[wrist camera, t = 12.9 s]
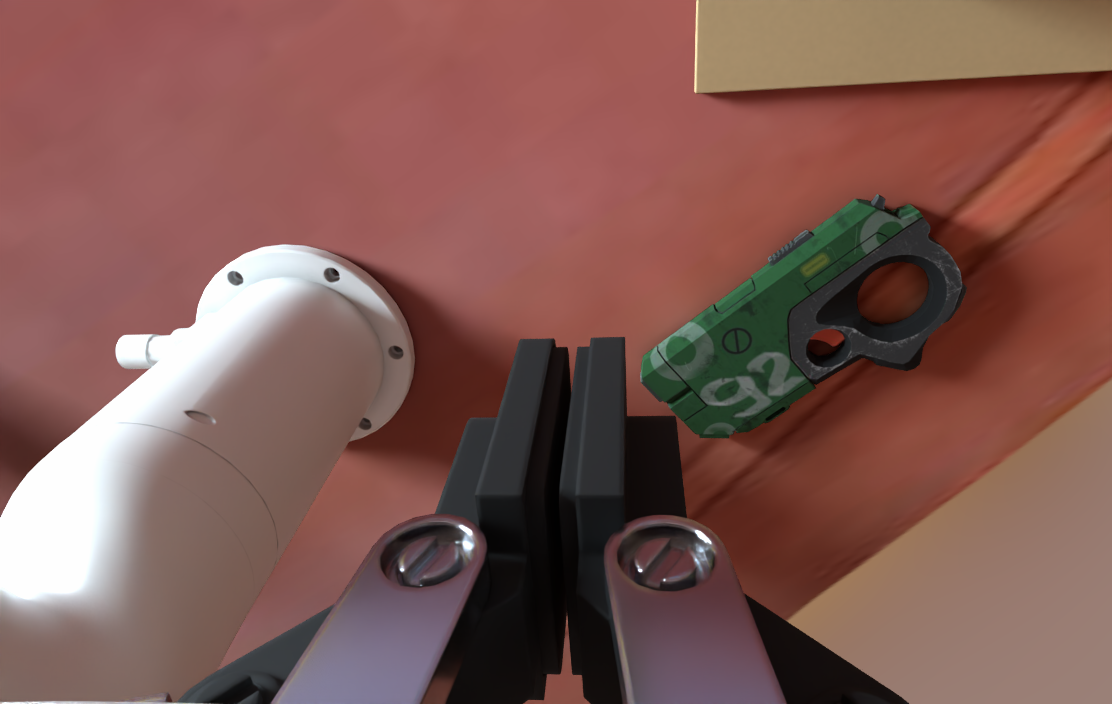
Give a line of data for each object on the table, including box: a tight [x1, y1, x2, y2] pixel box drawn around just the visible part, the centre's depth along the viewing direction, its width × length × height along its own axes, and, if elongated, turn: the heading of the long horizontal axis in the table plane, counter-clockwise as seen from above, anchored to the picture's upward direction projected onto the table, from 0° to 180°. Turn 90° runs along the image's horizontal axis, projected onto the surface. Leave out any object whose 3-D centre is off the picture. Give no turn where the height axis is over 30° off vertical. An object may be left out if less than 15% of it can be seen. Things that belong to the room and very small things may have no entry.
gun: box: [640, 194, 967, 438], centre depth 40 cm, size 16×2×10 cm
